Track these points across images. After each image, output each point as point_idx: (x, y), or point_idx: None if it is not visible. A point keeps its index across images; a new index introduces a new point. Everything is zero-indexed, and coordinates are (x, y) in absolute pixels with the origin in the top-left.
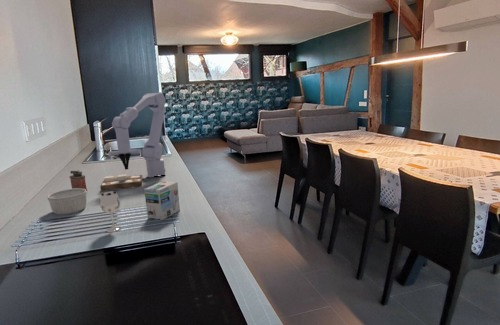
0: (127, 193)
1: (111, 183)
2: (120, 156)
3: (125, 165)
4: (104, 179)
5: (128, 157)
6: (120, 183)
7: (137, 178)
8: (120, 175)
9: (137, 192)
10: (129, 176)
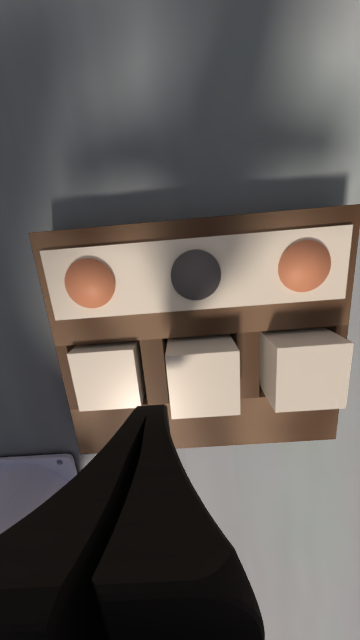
0: (119, 41)
1: (274, 250)
2: (208, 602)
3: (148, 431)
4: (344, 339)
5: (5, 549)
6: (198, 233)
7: (86, 349)
8: (219, 394)
9: (40, 41)
10: None
